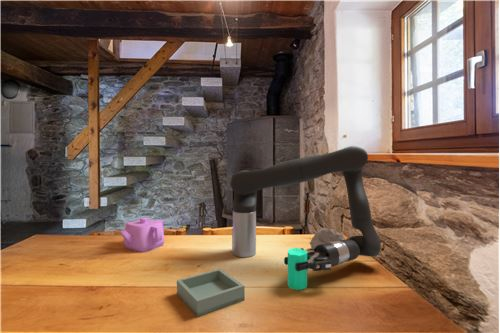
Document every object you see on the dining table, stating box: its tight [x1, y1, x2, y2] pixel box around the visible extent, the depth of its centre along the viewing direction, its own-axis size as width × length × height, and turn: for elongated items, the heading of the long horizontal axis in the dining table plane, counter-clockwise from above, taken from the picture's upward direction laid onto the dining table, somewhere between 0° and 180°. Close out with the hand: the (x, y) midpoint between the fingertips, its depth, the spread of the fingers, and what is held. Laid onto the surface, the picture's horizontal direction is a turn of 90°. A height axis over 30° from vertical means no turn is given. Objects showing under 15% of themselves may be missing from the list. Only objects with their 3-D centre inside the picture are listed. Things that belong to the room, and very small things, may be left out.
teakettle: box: [119, 217, 165, 253], centre depth 123 cm, size 17×17×12 cm
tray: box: [176, 268, 246, 318], centre depth 80 cm, size 14×14×4 cm
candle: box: [287, 246, 308, 291], centre depth 87 cm, size 6×6×12 cm
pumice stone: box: [309, 228, 346, 250], centre depth 117 cm, size 15×8×10 cm, turn 83°
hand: (290, 264), depth 85 cm, fingers closed on candle, 5 cm apart
